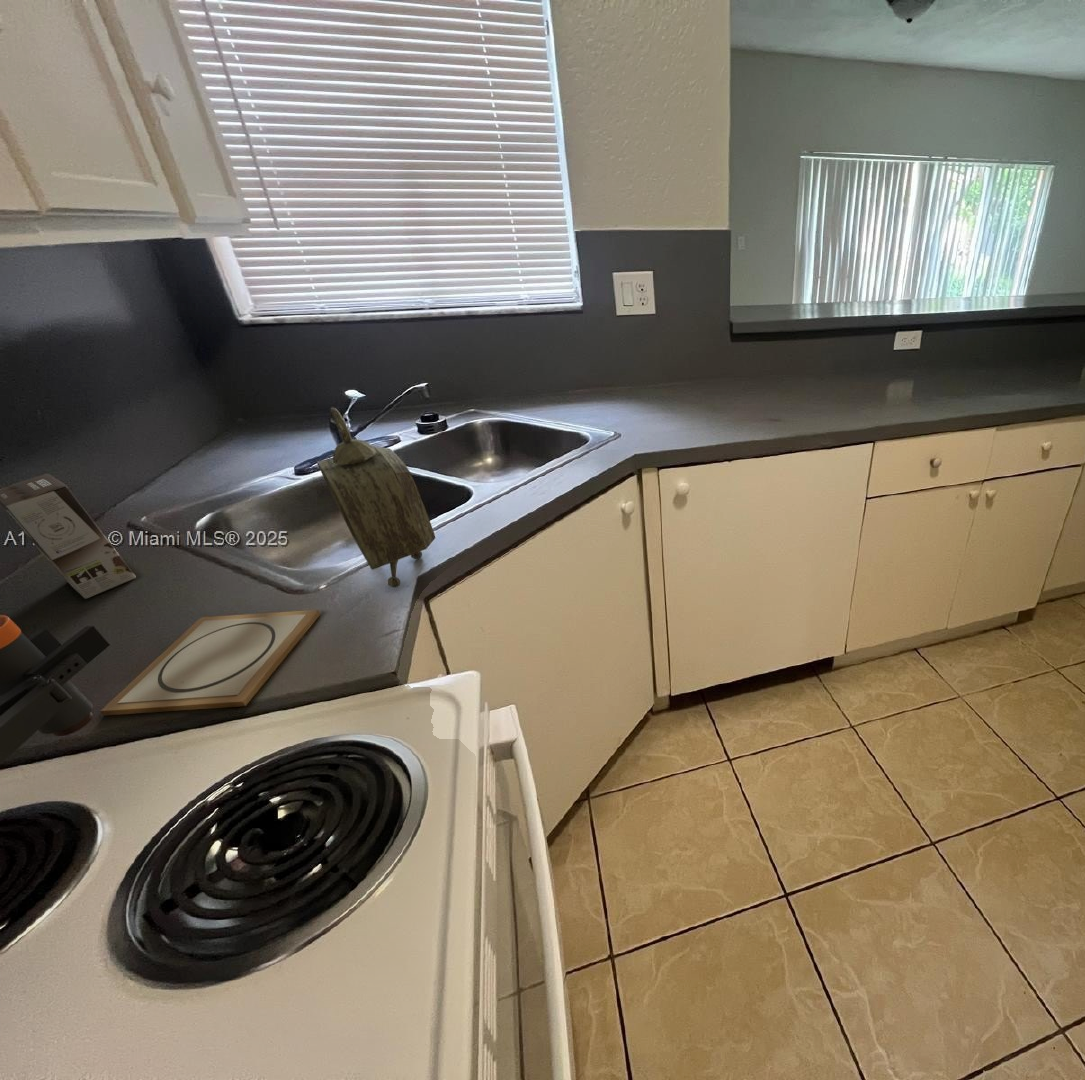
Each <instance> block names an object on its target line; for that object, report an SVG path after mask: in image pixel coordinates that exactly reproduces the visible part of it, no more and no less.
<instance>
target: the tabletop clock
mask: <svg viewBox="0 0 1085 1080" xmlns="http://www.w3.org/2000/svg"><path fill="white" fill-rule="evenodd" d="M330 414H331V417H332V418H333V420H334V422H335V424H336V426H337V429H338V431H339V434H340V436H341V438H342V439H341V440H342V442H340V443H338V444H337V445H336V446H335V448H334V451H333V454H332V457H329V458H326V459H322V460H318V461H316V464H317V466H318V469H319V470H320V471H319V472H320V473H321V475H322V477H323V479H324V481H325V483H326V486H327V487H328V490H329V492H330V494H331V495H332V498H333V500H334V502H335V504H336V506H337V508H338V510H339V512H340V514H341V516H342V519H343V520H344V522H345V524H346V526H347V529H348V530H349V532H350V535H351V536H352V538H353V540H354V541H355V544H356V545H357V547H358V549H359V550H360V552H361V554H362V556H363V557H364V559H365V561H366V563H367V564H368V565H369V567H370V569H371V570H372V571H373V570H375V569H378V568H381V567H384V566H386V565H390V574H391V577H389V578H388V579H387V585H388V587H390V588H394V589H395V588H398V587H399V586H400V584H401V579H400V578H399V577H398V576H397V568H398V563H399V560H401V559H404V558H406V557H407V558H408V557H409V556H410V557H411V558H412V559H413V560H420V559H421V558H422V557H423V552H422V551H425V550H427V549H428V547H429V546H430V545H431V544H432V543H433V542H434V541H435V539H436V535H435V531H434V529H433V526H432V523H431V521H430V517H429V515H428V512H427V510H426V507H425V505H424V502H423V500H422V497H421V494H420V491H419V489H418V487H417V485H416V482H415V480H414V478H413V476H412V473H411V471H410V469H409V468H408V466H407V465H406V463H404V461H403V460H402V459H401V458H400V457H399V456H398V455H397V453H395V452H394V451H393V450H392V449H391V448H387V447H383V446H382V447H381V446H375V445H371V444H370V443H369V442H367V441H365V440H362V439H359V438H355V439H353V438H352V436H351V433H350V431H349V429H348V426H347V424H346V421H345V420H344V418H343V416H342V414H341V412H340V411H339V410H338V409H337V408H336V407H331V408H330Z"/></svg>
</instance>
